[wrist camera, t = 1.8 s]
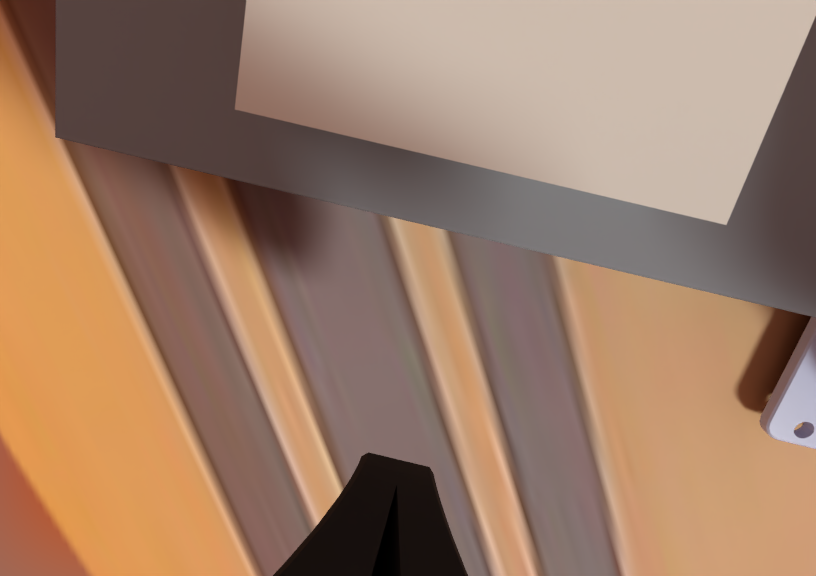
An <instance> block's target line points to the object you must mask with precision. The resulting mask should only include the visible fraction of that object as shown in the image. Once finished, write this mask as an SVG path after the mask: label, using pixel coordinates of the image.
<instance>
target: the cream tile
mask: <svg viewBox="0 0 816 576" xmlns="http://www.w3.org/2000/svg"><path fill="white" fill-rule="evenodd" d="M815 16H816V0H246V9H245V18H244V28H243V37H242V46H241V55H240V65H239V74H238V83H237V93H236V102H235V110H240V111H244V112H248V113H252V114H257V115H261V116H265V117H269V118H274V119H278V120H282V121H286V122H291V123H295V124H299V125H303V126H308V127H312V128H316V129H320V130H325V131H329V132H333V133H337V134H342V135H346V136H350V137H354V138H359V139H363V140H367V141H371V142H376V143H380V144H384V145H388V146H393V147H397V148H401V149H405V150H410V151H414V152H418V153H422V154H427V155H431V156H435V157H439V158H444V159H448V160H452V161H456V162H461V163H465V164H469V165H473V166H478V167H482V168H486V169H490V170H495V171H499V172H503V173H507V174H512V175H516V176H520V177H524V178H529V179H533V180H537V181H541V182H546V183H550V184H554V185H558V186H563V187H567V188H571V189H575V190H580V191H584V192H588V193H592V194H597V195H601V196H605V197H609V198H614V199H618V200H622V201H626V202H631V203H635V204H639V205H643V206H648V207H652V208H656V209H660V210H665V211H669V212H673V213H677V214H682V215H686V216H690V217H694V218H699V219H703V220H707V221H711V222H716V223H720V224H724V225H727V222H728V220H729V218H730V215H731V213H732V211H733V208H734V206H735V204H736V201H737V199H738V197H739V194H740V192H741V190H742V187H743V185H744V183H745V180H746V178H747V176H748V173H749V171H750V169H751V166H752V164H753V161H754V159H755V157H756V154H757V152H758V150H759V147H760V145H761V143H762V140H763V138H764V136H765V133H766V131H767V129H768V126H769V124H770V122H771V119H772V117H773V115H774V112H775V110H776V108H777V105H778V103H779V101H780V98H781V96H782V94H783V91H784V89H785V87H786V84H787V82H788V80H789V77H790V75H791V73H792V70H793V68H794V66H795V63H796V61H797V59H798V56H799V54H800V52H801V49H802V47H803V45H804V42H805V40H806V38H807V35H808V33H809V31H810V28H811V26H812V23H813V21H814V19H815Z"/></svg>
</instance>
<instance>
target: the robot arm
mask: <svg viewBox="0 0 816 576" xmlns="http://www.w3.org/2000/svg"><path fill="white" fill-rule="evenodd" d="M802 422H804V424H803V425H802V426H801V428H799V429H797V430H794V429H795V427H796V426H797V425H798V424H800V423H802ZM760 425H761V427H762V429H763V430H764V431H765V432H766V433H767V434H768V435H770V436H771V437H772V438H774V439H777V440H780V441H784V442H788V443H793V444H797V445H801V446H805V447H809V448H813V449H816V317H811V319H810V321H809V323H808V324H807V326H806V328H805V330H804V332H803V334H802V336H801V338H800V340H799V342H798V344H797V346H796V348H795V350H794V352H793V354H792V356H791V358H790V360H789V362H788V364H787V366H786V368H785V369H784V371H783V373H782V375H781V377H780V379H779V381H778V383H777V385H776V387H775V389H774V391H773V393H772V395H771V397H770V399H769V401H768V403H767V405H766V407H765V409H764V411H763V412H762V414H761V418H760ZM273 576H468V574H467V572H466V570H465V567H464V565H463V562H462V560H461V557H460V554H459V552H458V549H457V547H456V544H455V542H454V539H453V537H452V534H451V531H450V528H449V525H448V522H447V519H446V516H445V513H444V510H443V507H442V504H441V501H440V498H439V494H438V491H437V487H436V483H435V479H434V474H433V472H432V471H431V469H430V467H427V466H422V465H418V464H414V463H410V462H406V461H401V460H397V459H393V458H389V457H385V456H381V455H376V454H372V453H367V454H365V455H363V456H362V457H361V459H360V462H359V464H358V466H357V468H356V470H355V472H354V474H353V475H352V477H351V479H350V480H349V482H348V484H347V485H346V487H345V488H344V490H343V491H342V493H341V494H340V496H339V497H338V498H337V500H336V501H335V502H334V504H333V505H332V506H331V508H330V509H329V510H328V512H327V513H326V514H325V516H324V517H323V518H322V520H321V521H320V522H319V524H318V525H317V526H316V527H315V529H314V530H313V531H312V532H311V533H310V535H309V536H308V537H307V538H306V539H305V540H304V541H303V543H302V544H301V545H300V546H299V547H298V548H297V550H296V551H295V552H294V553H293V554H292V555H291V556H290V558H289V559H288V560H287V561H286V562H285V563H284V564H283V565H282V566H281V568H280V569H279V570H278V571H277V572H276V573H275V574H274V575H273Z"/></svg>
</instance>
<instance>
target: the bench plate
mask: <svg viewBox="0 0 816 576" xmlns="http://www.w3.org/2000/svg"><path fill="white" fill-rule="evenodd" d="M245 9H246V0H56V125H55V137H56V138H60V139H65V140H69V141H73V142H77V143H82V144H86V145H90V146H94V147H98V148H103V149H107V150H111V151H115V152H120V153H124V154H128V155H132V156H136V157H141V158H145V159H149V160H153V161H158V162H162V163H166V164H170V165H174V166H179V167H183V168H187V169H191V170H195V171H200V172H204V173H208V174H212V175H217V176H221V177H225V178H229V179H233V180H238V181H242V182H246V183H250V184H255V185H259V186H263V187H267V188H271V189H276V190H280V191H284V192H288V193H293V194H297V195H301V196H305V197H309V198H314V199H318V200H322V201H326V202H331V203H335V204H339V205H343V206H347V207H352V208H356V209H360V210H364V211H368V212H373V213H377V214H381V215H385V216H390V217H394V218H398V219H402V220H406V221H411V222H415V223H419V224H423V225H428V226H432V227H436V228H440V229H444V230H449V231H453V232H457V233H461V234H466V235H470V236H474V237H478V238H482V239H487V240H491V241H495V242H499V243H503V244H508V245H512V246H516V247H520V248H525V249H529V250H533V251H537V252H541V253H546V254H550V255H554V256H558V257H563V258H567V259H571V260H575V261H579V262H584V263H588V264H592V265H596V266H601V267H605V268H609V269H613V270H617V271H622V272H626V273H630V274H634V275H639V276H643V277H647V278H651V279H655V280H660V281H664V282H668V283H672V284H676V285H681V286H685V287H689V288H693V289H698V290H702V291H706V292H710V293H714V294H719V295H723V296H727V297H731V298H736V299H740V300H744V301H748V302H752V303H757V304H761V305H765V306H769V307H774V308H778V309H782V310H786V311H790V312H795V313H799V314H803V315H807V316H811V317H816V16H815V19H814V21H813V23H812V26H811V28H810V31H809V33H808V35H807V38H806V40H805V42H804V45H803V47H802V49H801V52H800V54H799V56H798V59H797V61H796V63H795V66H794V68H793V70H792V73H791V75H790V77H789V80H788V82H787V84H786V87H785V89H784V91H783V94H782V96H781V98H780V101H779V103H778V105H777V108H776V110H775V112H774V115H773V117H772V119H771V122H770V124H769V126H768V129H767V131H766V133H765V136H764V138H763V140H762V143H761V145H760V147H759V150H758V152H757V154H756V157H755V159H754V161H753V164H752V166H751V169H750V171H749V173H748V176H747V178H746V180H745V183H744V185H743V187H742V190H741V192H740V194H739V197H738V199H737V201H736V204H735V206H734V208H733V211H732V213H731V215H730V218H729V220H728V222H727V225H724V224H720V223H716V222H711V221H707V220H703V219H699V218H694V217H690V216H686V215H682V214H677V213H673V212H669V211H665V210H660V209H656V208H652V207H648V206H643V205H639V204H635V203H631V202H626V201H622V200H618V199H614V198H609V197H605V196H601V195H597V194H592V193H588V192H584V191H580V190H575V189H571V188H567V187H563V186H558V185H554V184H550V183H546V182H541V181H537V180H533V179H529V178H524V177H520V176H516V175H512V174H507V173H503V172H499V171H495V170H490V169H486V168H482V167H478V166H473V165H469V164H465V163H461V162H456V161H452V160H448V159H444V158H439V157H435V156H431V155H427V154H422V153H418V152H414V151H410V150H405V149H401V148H397V147H393V146H388V145H384V144H380V143H376V142H371V141H367V140H363V139H359V138H354V137H350V136H346V135H342V134H337V133H333V132H329V131H325V130H320V129H316V128H312V127H308V126H303V125H299V124H295V123H291V122H286V121H282V120H278V119H274V118H269V117H265V116H261V115H257V114H252V113H248V112H244V111H240V110H235V102H236V93H237V83H238V74H239V65H240V55H241V46H242V37H243V28H244V18H245Z"/></svg>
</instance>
